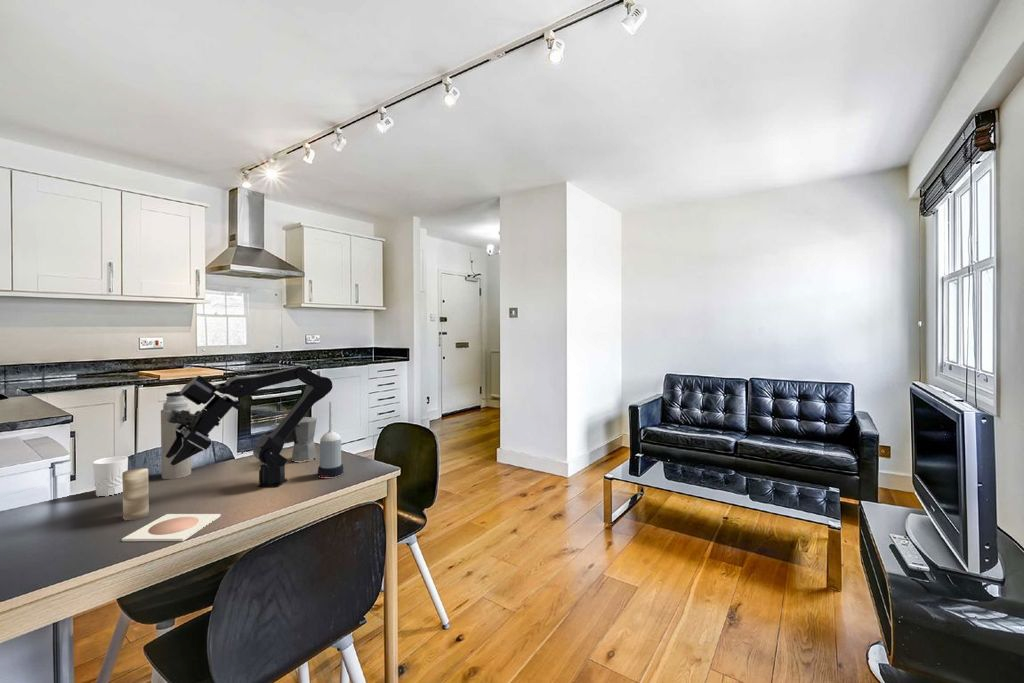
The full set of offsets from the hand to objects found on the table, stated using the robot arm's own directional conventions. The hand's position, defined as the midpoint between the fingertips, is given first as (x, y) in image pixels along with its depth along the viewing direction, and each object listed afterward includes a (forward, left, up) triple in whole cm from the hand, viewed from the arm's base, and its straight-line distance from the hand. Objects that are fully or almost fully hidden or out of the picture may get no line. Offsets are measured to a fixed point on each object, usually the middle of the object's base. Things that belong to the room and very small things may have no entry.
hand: (169, 460), depth 125 cm
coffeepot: (-17, -44, -13) cm, 49 cm away
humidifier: (-34, -27, -13) cm, 46 cm away
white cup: (+25, -10, -13) cm, 30 cm away
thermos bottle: (+17, -26, -13) cm, 34 cm away
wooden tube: (+4, +7, -13) cm, 15 cm away
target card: (-11, +14, -13) cm, 22 cm away
